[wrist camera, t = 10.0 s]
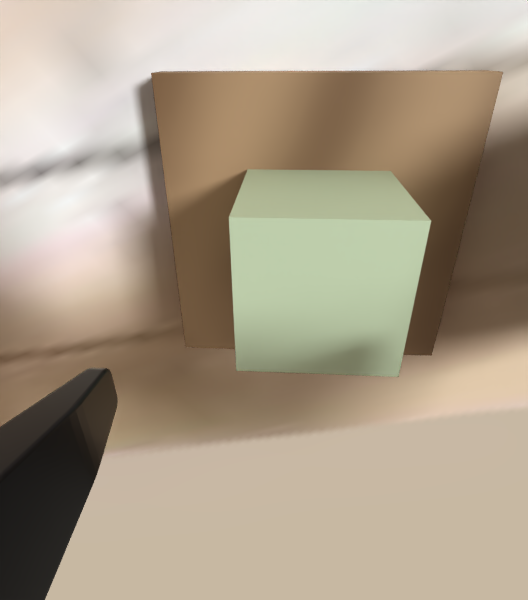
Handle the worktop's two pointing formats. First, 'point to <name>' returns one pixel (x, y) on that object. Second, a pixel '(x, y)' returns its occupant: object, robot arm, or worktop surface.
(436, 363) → the worktop surface
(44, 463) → the robot arm
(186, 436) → the worktop surface
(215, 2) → the worktop surface
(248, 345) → the sage cube
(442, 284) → the walnut board
